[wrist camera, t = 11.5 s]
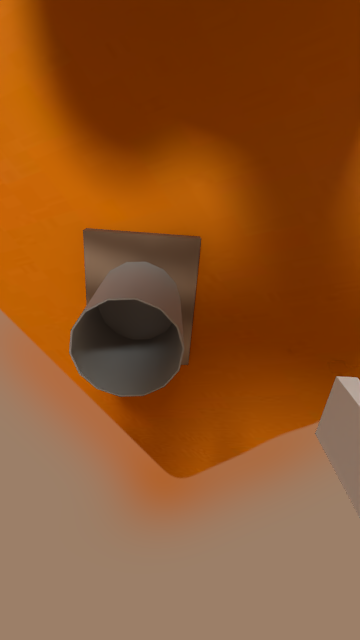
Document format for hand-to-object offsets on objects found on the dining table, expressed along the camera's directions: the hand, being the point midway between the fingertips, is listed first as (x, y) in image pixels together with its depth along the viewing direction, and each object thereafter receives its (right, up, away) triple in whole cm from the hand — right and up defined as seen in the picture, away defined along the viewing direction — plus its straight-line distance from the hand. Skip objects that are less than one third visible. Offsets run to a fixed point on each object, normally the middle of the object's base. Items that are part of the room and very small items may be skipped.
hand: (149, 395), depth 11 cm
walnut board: (-3, +5, +22) cm, 23 cm away
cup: (-3, +5, +21) cm, 22 cm away
